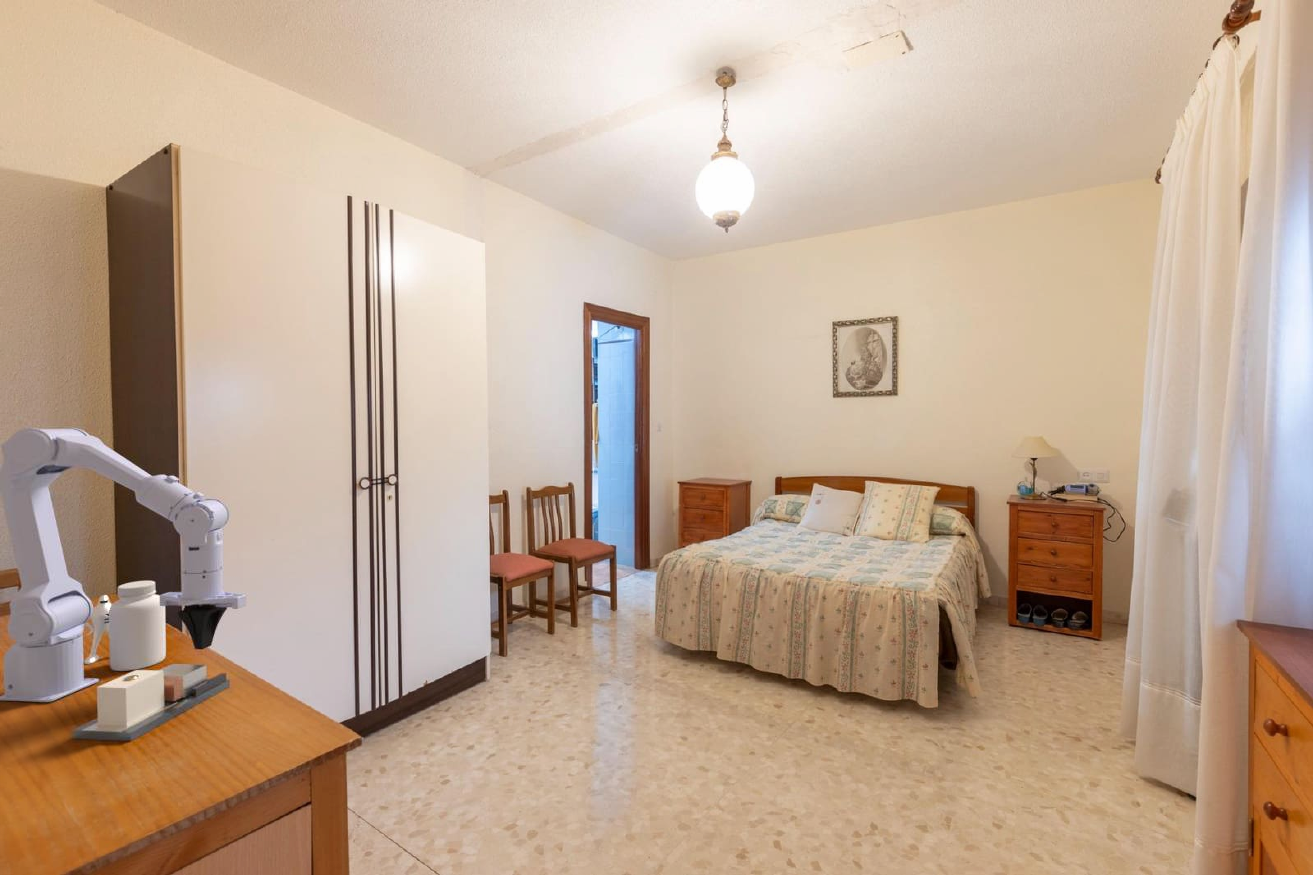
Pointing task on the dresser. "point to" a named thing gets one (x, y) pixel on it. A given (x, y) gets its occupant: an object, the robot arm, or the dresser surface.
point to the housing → (130, 697)
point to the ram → (182, 680)
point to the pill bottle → (136, 627)
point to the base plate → (153, 714)
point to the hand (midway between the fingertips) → (203, 647)
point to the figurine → (98, 625)
